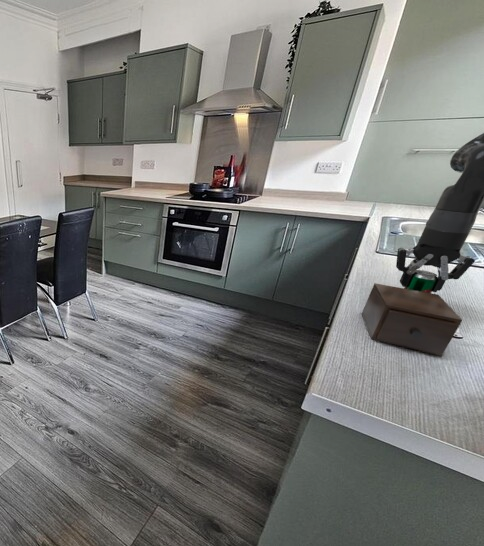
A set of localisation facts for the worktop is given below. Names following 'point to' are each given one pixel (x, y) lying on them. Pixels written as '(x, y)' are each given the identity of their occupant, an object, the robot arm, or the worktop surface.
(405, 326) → the drawer
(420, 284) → the soda can
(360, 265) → the worktop surface
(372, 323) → the cabinet
